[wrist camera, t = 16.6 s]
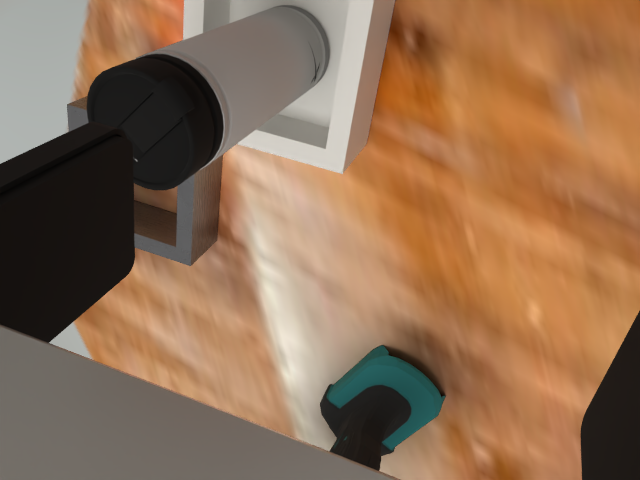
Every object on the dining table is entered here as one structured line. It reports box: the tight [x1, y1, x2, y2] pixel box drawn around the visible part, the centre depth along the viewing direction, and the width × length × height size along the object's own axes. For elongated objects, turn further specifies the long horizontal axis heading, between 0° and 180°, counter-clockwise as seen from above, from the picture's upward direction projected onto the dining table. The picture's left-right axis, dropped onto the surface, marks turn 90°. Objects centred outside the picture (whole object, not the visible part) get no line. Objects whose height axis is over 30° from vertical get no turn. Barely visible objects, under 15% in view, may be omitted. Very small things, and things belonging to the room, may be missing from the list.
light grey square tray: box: [183, 0, 395, 174], centre depth 44 cm, size 13×13×6 cm
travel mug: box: [87, 5, 330, 190], centre depth 36 cm, size 6×7×20 cm
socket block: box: [67, 96, 223, 266], centre depth 55 cm, size 12×12×5 cm
